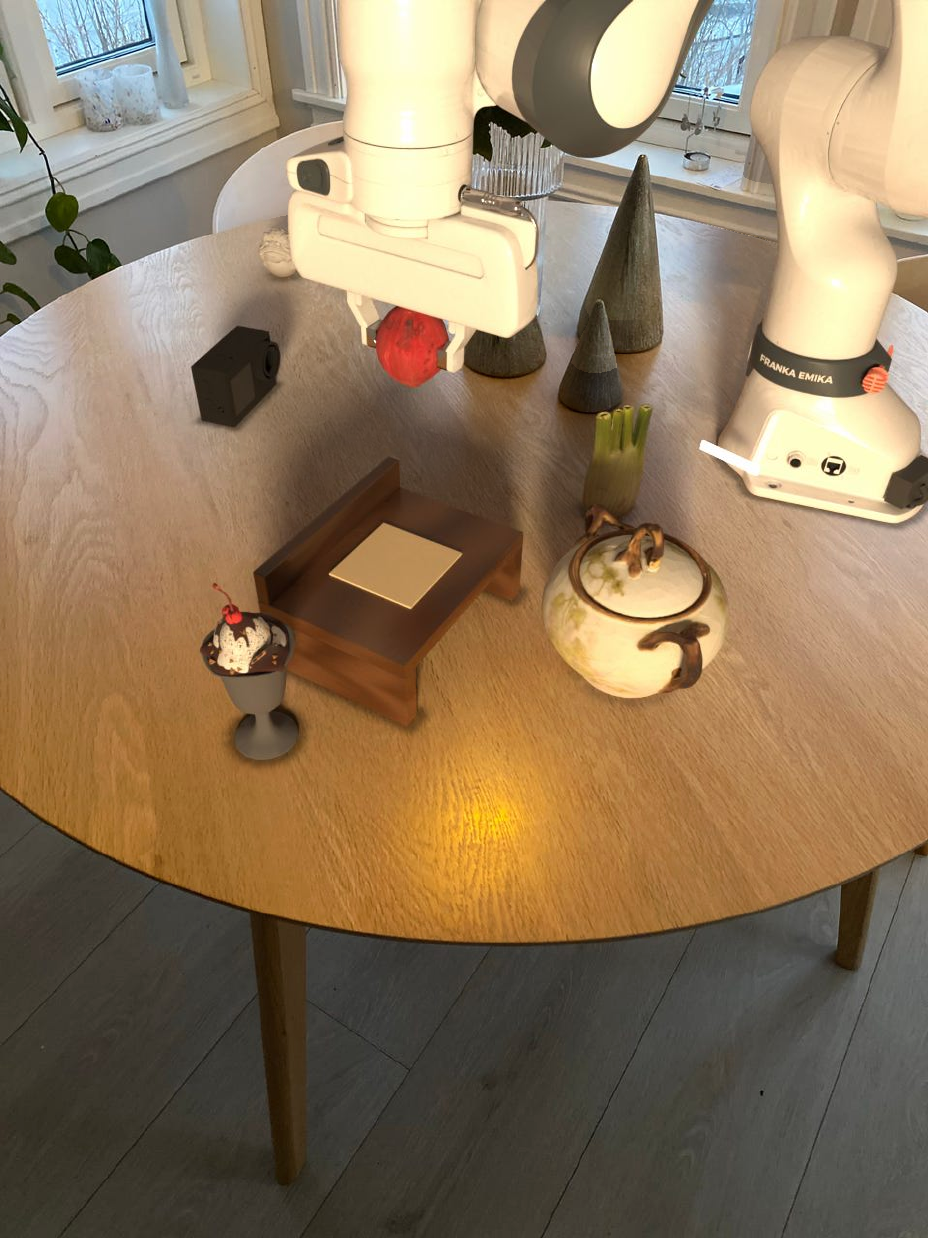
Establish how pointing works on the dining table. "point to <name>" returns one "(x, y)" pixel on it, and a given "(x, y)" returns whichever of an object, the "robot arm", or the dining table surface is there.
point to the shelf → (383, 587)
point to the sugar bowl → (634, 608)
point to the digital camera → (235, 375)
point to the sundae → (254, 677)
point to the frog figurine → (276, 253)
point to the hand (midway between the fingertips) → (411, 355)
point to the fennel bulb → (617, 460)
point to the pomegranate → (410, 345)
